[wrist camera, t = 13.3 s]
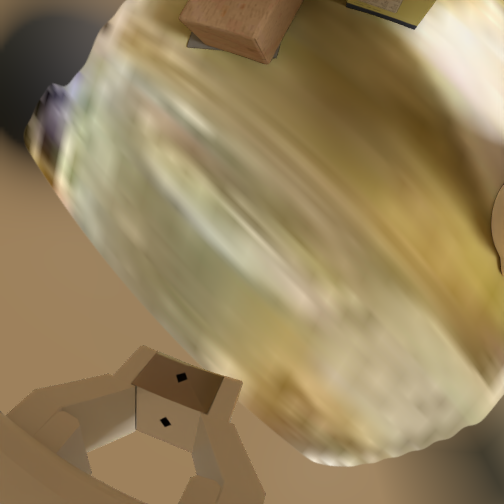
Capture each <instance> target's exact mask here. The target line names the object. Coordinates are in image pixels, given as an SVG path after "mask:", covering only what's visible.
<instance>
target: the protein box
mask: <svg viewBox="0 0 504 504" xmlns="http://www.w3.org/2000/svg"><path fill="white" fill-rule="evenodd" d="M435 1H436V0H347V2H346V7H349V8H352V9H356V10H359V11H362V12H366V13H369V14H372V15H375V16H378V17H381V18H384V19H387V20H390V21H393V22H396V23H398V24H401V25H404V26H406V27H409V28H412V29H414V30H415V28H416V27H417V26H418V24H419V23H420V22H421V20H422V19H423V18H424V16H425V15H426V14H427V12H428V11H429V10H430V8H431V7H432V5H433V4H434V3H435Z"/></svg>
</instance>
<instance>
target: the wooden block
mask: <svg viewBox="0 0 504 504" xmlns="http://www.w3.org/2000/svg"><path fill="white" fill-rule="evenodd" d="M302 2H303V0H188V2H187V4H186V5H185V7H184V9H183V10H182V12H181V14H180V16H179V20H180V21H181V22H182V23H183V24H184V25H185V26H187V27H188V28H189V29H190V30H191V31H192V32H193V33H194V34H195V35H196V36H197V37H198V38H199V39H200V40H201V41H202V42H203V43H204V44H206V45H208V46H211V47H215V48H218V49H222V50H225V51H228V52H231V53H234V54H237V55H241V56H243V57H246V58H249V59H252V60H255V61H258V62H261V63H263V64H269V63H270V62H271V60H272V58H273V56H274V54H275V52H276V50H277V48H278V46H279V44H280V42H281V41H282V39H283V37H284V35H285V33H286V31H287V29H288V28H289V26H290V24H291V22H292V20H293V18H294V17H295V15H296V13H297V11H298V9H299V8H300V6H301V4H302Z"/></svg>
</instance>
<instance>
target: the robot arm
mask: <svg viewBox="0 0 504 504" xmlns="http://www.w3.org/2000/svg"><path fill="white" fill-rule="evenodd" d="M491 228H492V237H493V241H494V244H495V247H496V249H497V251H498V254H499V256H500V259H501V271H502V275H503V276H504V185H503V186H502V188H501V189H500V191H499V193H498V195H497V197H496V200H495V203H494V207H493V211H492V221H491ZM242 384H243V382H242V381H240V380H237V379H233V378H230V377H227V376H223V375H220V374H216V373H214V372H211V371H208V370H205V369H202V368H199V367H196V366H193V365H191V364H188V363H185V362H183V361H180V360H178V359H176V358H173V357H171V356H168V355H166V354H163V353H161V352H158V351H155V350H154V349H151V348H149V347H147V346H144V345H143V346H140V347H139V348H138V349H137V350H136V351H135V352H134V353H133V354H132V355H131V356H130V357H129V359H128V360H127V361H126V362H125V363H124V364H123V365H122V366H121V367H120V368H119V369H118V371H116V373H115V374H114V375H111V374H104V375H100V376H96V377H91V378H87V379H82V380H78V381H73V382H69V383H64V384H59V385H54V386H49V387H45V388H39V389H35V390H33V391H32V392H31V393H30V394H29V395H28V396H27V397H26V398H24V399H23V400H22V401H21V402H20V403H19V404H18V405H17V406H16V407H14V408H13V409H12V410H11V411H10V412H9V413H8V414H7V415H4V414H3V413H2V412H1V411H0V504H147V503H144V502H142V501H140V500H138V499H136V498H133V497H131V496H129V495H127V494H125V493H123V492H121V491H119V490H117V489H115V488H113V487H111V486H109V485H107V484H105V483H104V482H102V481H100V480H98V479H96V478H94V477H92V476H91V473H92V471H91V468H90V464H89V461H88V457H87V452H89V451H92V450H94V449H96V448H99V447H101V446H103V445H106V444H108V443H110V442H113V441H115V440H117V439H119V438H122V437H124V436H126V435H128V434H130V433H132V432H134V431H135V430H138V431H140V432H142V433H145V434H147V435H150V436H152V437H154V438H157V439H159V440H162V441H164V442H167V443H169V444H171V445H174V446H176V447H179V448H181V449H184V450H186V451H188V452H191V453H192V457H193V461H194V465H195V469H196V474H197V475H196V476H193V477H190V480H189V482H188V484H187V486H186V488H185V490H184V492H183V495H182V497H181V499H180V501H179V503H178V504H263V503H264V499H265V495H266V493H265V491H264V489H263V487H262V485H261V483H260V480H259V478H258V476H257V474H256V472H255V470H254V468H253V466H252V463H251V461H250V459H249V457H248V455H247V452H246V450H245V448H244V446H243V443H242V441H241V439H240V436H239V434H238V432H237V430H236V427H235V425H234V424H233V423H230V421H231V418H232V415H233V412H234V409H235V406H236V403H237V400H238V397H239V394H240V391H241V387H242Z"/></svg>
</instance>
